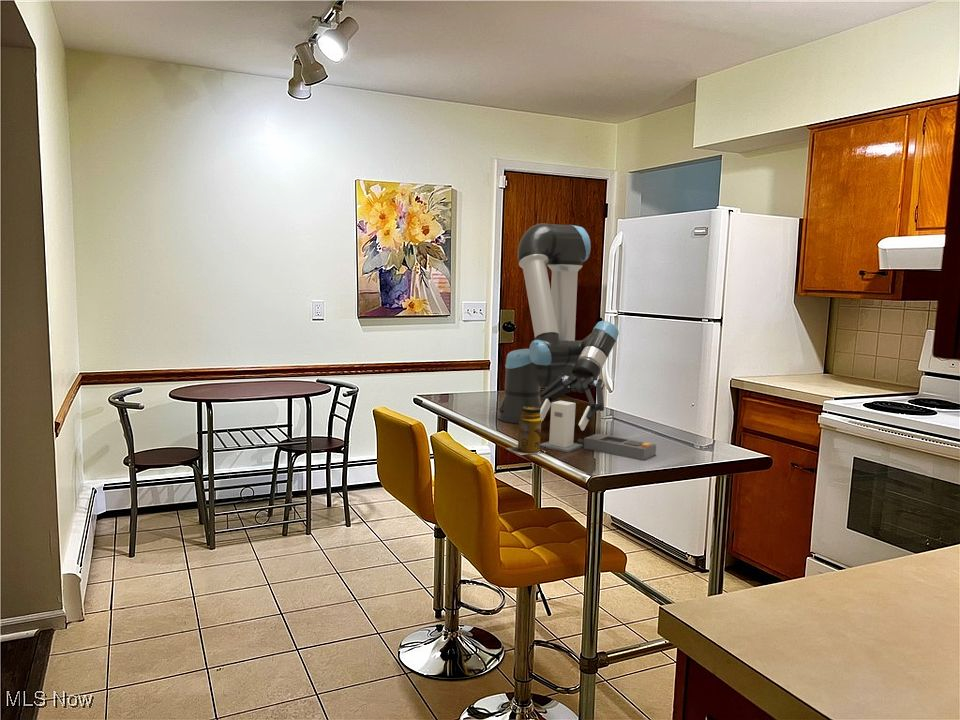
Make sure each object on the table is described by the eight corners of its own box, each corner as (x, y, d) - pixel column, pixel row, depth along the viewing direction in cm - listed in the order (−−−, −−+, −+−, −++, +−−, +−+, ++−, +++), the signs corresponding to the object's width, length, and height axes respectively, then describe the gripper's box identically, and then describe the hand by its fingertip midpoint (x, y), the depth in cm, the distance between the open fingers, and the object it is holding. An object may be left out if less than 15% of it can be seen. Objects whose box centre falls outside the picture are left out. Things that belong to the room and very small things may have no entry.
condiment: (546, 452, 195) (548, 409, 194) (521, 455, 191) (523, 411, 189) (529, 446, 201) (532, 404, 200) (505, 449, 197) (507, 406, 195)
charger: (557, 441, 206) (560, 400, 204) (573, 444, 203) (575, 403, 201) (548, 444, 202) (551, 402, 200) (564, 447, 199) (566, 405, 197)
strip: (571, 445, 204) (572, 433, 204) (584, 441, 210) (585, 429, 210) (643, 460, 191) (644, 447, 191) (655, 454, 198) (656, 442, 197)
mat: (555, 441, 209) (555, 439, 209) (583, 446, 203) (583, 444, 203) (539, 446, 202) (539, 444, 201) (567, 452, 196) (567, 450, 196)
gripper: (631, 379, 205) (603, 439, 195) (556, 368, 220) (527, 423, 210) (624, 362, 200) (595, 423, 190) (548, 352, 215) (518, 408, 205)
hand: (559, 423), depth 200 cm, fingers open, 13 cm apart
